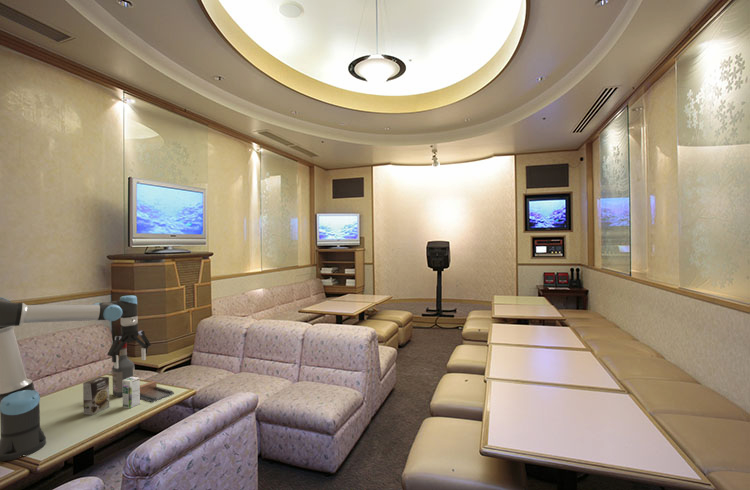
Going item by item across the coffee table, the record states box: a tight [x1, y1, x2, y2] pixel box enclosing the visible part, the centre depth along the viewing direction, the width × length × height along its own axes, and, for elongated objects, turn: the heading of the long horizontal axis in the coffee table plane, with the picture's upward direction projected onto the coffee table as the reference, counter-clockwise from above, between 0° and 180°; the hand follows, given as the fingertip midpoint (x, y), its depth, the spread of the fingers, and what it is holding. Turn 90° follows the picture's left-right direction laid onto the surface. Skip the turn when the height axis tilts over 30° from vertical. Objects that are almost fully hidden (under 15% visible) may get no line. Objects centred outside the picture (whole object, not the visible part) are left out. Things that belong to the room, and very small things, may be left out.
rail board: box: [140, 380, 175, 403], centre depth 199 cm, size 12×18×5 cm, turn 63°
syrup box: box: [122, 377, 141, 409], centre depth 187 cm, size 6×6×14 cm
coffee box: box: [82, 376, 110, 416], centre depth 182 cm, size 9×6×16 cm
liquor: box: [111, 342, 136, 398], centre depth 202 cm, size 9×9×30 cm
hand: (130, 364), depth 187 cm, fingers open, 13 cm apart
